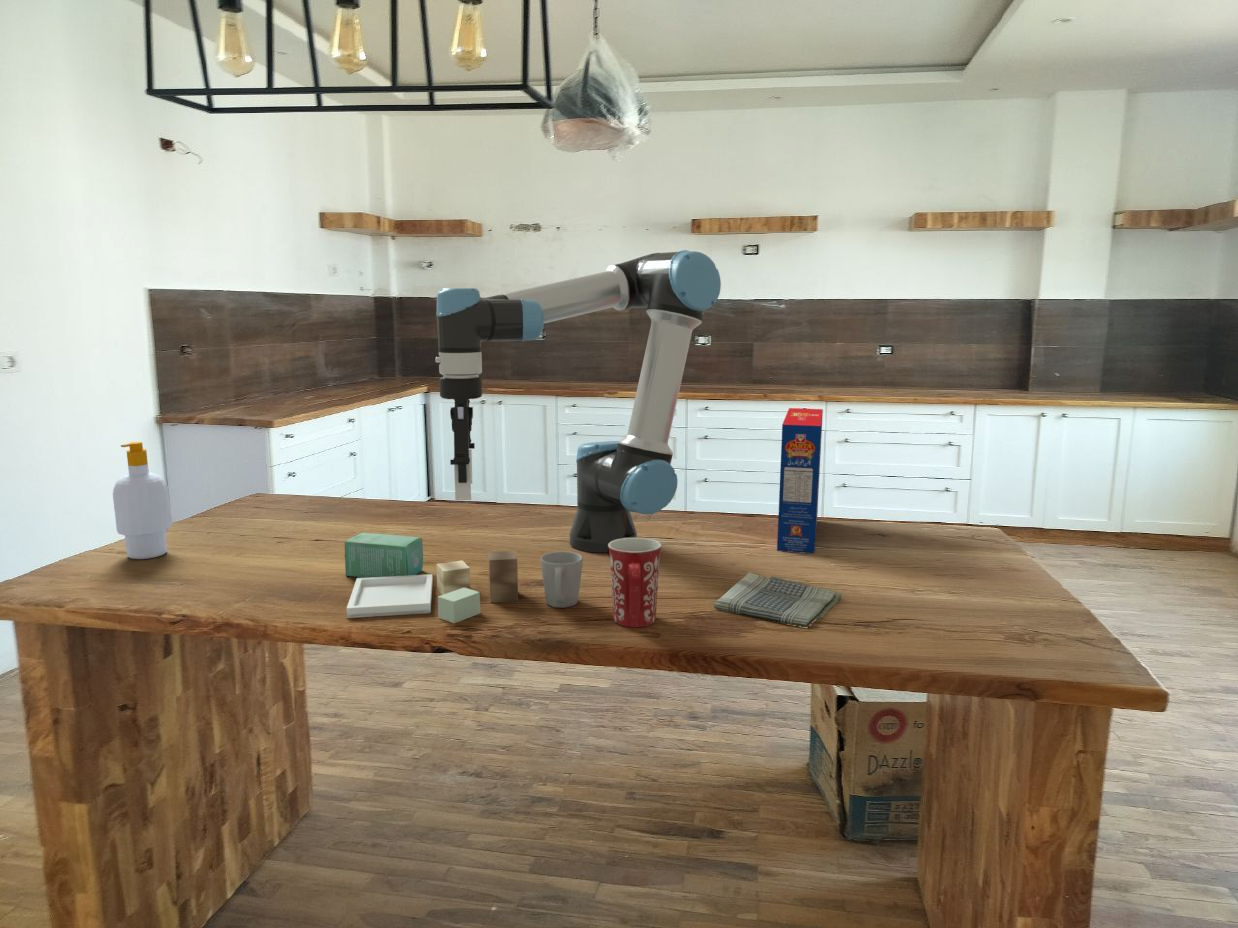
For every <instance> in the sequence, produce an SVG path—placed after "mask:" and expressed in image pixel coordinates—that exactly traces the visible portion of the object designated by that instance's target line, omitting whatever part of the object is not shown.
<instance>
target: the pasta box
mask: <svg viewBox="0 0 1238 928" xmlns="http://www.w3.org/2000/svg"><path fill="white" fill-rule="evenodd" d="M823 413H824V410H823V409H822V408H797V407H795V408H794V407H793V408H792V407H789V408H788V410H787V412H786V415H785V417H784V419H783V422H782V424H781V425H782V427H781V447H780V450H781V451H780V467H779V468H780V470H779V471H780V472H779V492H778V493H779V494H778V495H779V496H778V518H777V522H778V523H777V537H776V538H777V539H776V542H777V543H776V544H777V545H776V551H777V552H787V551H793V552H792V553H800V552H805V554H815V553H816V552H815V550H816V537H817V525H818V513H819V510H818V509H819V492H820V491H819V490H820V489H819V488H820V475H821V474H820V473H821V470H820V469H821V451H822V449H821V448H822V436H823V435H822V434H823V433H822V432H823Z"/></svg>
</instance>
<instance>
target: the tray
mask: <svg viewBox="0 0 1238 928" xmlns="http://www.w3.org/2000/svg"><path fill="white" fill-rule="evenodd" d="M433 583H434V580H433V573H431V574H429V573H427V574H416V575H408V576H390V577H371V578H364V577H356V580H355V582H354V585H353V588H352V591H351V595H350V597H349V600H348V603H347V605H346V618H347V619H355V618H366V617H367V618H370V617H371V618H372V617H373V618H374V617H385V616H386V617H387V616H390V617H391V616H402V615H403V616H405V615H417V614H418V615H420V614H431V612H432V610H431V609H432V597H433V586H434V585H433Z"/></svg>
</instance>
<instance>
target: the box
mask: <svg viewBox="0 0 1238 928" xmlns="http://www.w3.org/2000/svg"><path fill="white" fill-rule="evenodd" d="M423 545H424V544H423V538H422V537H419V536H410V535H398V534H397V535H396V534H385V533H371V532H364V531H363V532H361V533H358V534H357V535H355V536H353V537H350V538H348V539H346V540H345V541H344V560H345V561H344V562H345V563H344V564H345V565H344V566H345V567H344V568H345V576H346V577H356V578H371V577H390V576H408V575H419V574H420V573H421V572H422V571H423V568H424V548H423V547H424V546H423Z"/></svg>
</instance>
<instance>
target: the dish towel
mask: <svg viewBox="0 0 1238 928" xmlns="http://www.w3.org/2000/svg"><path fill="white" fill-rule="evenodd" d="M842 596H843V594H842V593H840V592H838V591H836V590H834V589H831V588H824V587H818V586H812V585H809V584H805V583H802V582H800V581H799V582H797V581H793V580H787V579H783V578H781V577H777V576H773V575H772V576H771V577H768V578H767V577H766V576H761V575H758V574H755V573H753V572H747V574H745V576H743V577H742V578H741V579H740V580H739V581H738V582H737V583H735V584H734V585H733V586H732V587H731V588H730V589H729V590H727V591H726V592H725V594H723V595H722V596H721V597H720V598H718V599H716V600H715V602H714V605H713V607H714V609H715V610H717V611H720V612H721V611H722V612H725V613H732V614H734V615H735V614H736V615H739V616H745V617H749V618H753V619H758V620H763V619H765V620H764V621H767V620H770V621H769V622H772V621H775V622H774V623H776V622H779V623H778V624H781V623H784V624H783V625H785V624H790V625H796V626H801V627H808V626H809V625H810V624H812V621H814V620H815V619H818V620H819V619H821V618H822V617H823V616H824V614H825V613H826V612H827V613H828V612H829V611H831V610H832V608H833V606H834V605H835V606H836V605H837V604H838V603H839V602H840V600H841V598H842ZM835 606H834V607H835ZM827 613H826V614H827ZM826 614H825V615H826ZM821 616H822V617H821ZM820 617H821V618H820ZM790 625H789V626H790ZM812 625H813V624H812Z"/></svg>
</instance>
